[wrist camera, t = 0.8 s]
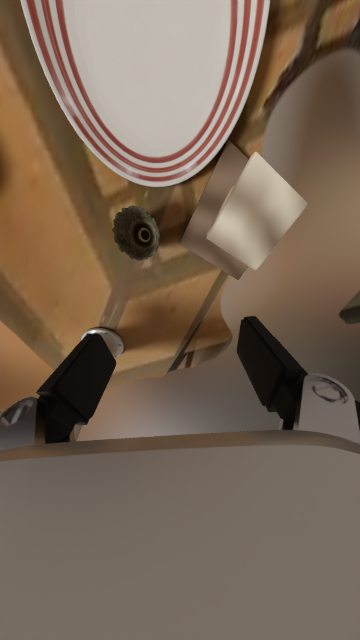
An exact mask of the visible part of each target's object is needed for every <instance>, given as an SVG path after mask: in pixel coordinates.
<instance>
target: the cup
mask: <svg viewBox="0 0 360 640" xmlns="http://www.w3.org/2000/svg"><path fill="white" fill-rule="evenodd" d="M115 217H116V218H115V219H114V220H113V221H114V226H115V227H114V228H113V229H112V231H113V232H114V241H115V243H116V244H117V246H118V247H119V249H120V251H121V252H125V253H126V254H127V255H129V256H130V258H131V259H135V260H137V261H140V260H142V259H144V260H146V259H148V258H149V257H151V256H152V255H153V254H154V253H155V252H156V250H157V248H158V245H159V238H160V234H159V229H158V226H157V224H156V221H155V220H154V219H153V218H152V217H151V215H150V214H148V213H147V212H146V210H144V209H142V208H139V207H137V206H129V207H128V208H122V212H119V213H117V214H116V216H115ZM144 230H145V231H147V232H148V233H149V238H148V239H147V240H145V239H143V238H142V236H141V233H142V231H144Z"/></svg>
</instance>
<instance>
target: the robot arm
mask: <svg viewBox="0 0 360 640" xmlns="http://www.w3.org/2000/svg"><path fill="white" fill-rule="evenodd" d="M123 350H124V343H123V341H122V339H121V338H120V337H119V336H118V335H117V334H116V333H114V332H112V331H110V330H108V329H104V328H92V329H89V330H87V331H86V332H85V333H84V334H83V335H82V337H81V341H80V343H79V344H78V345H77V346H76V347H75V348H74V349H73V351H72V352H71V353H70V354H69V355H68V356H67V357H66V359H65V360H64V361H63V362H62V363H61V364H60V365H59V367H58V368H57V369H56V370H55V371H54V372H53V374H52V375H51V376H50V377H49V378H48V379H47V380H46V381H45V383H44V384H43V385H42V386H41V387H40V388H39V390H38V391H37V392H36V393H37V394H39V395H40V397H39V398H38V399H37V398H35V397H27V398H24V399H22V400H20V401H18V402H16V403H15V404H13V405H12V406H10V407H9V408H8V409H7V410H6V411H5V410H0V640H360V402H358V401H356V400H354V398H353V395H352V394H351V393H350V391H349V390H348V389H347V388H346V387H345V386H344V385H342V384H341V383H340V382H338V381H337V380H335V379H333V378H331V377H328V376H325V375H322V374H316V373H313V374H307V372H306V371H305V370H304V369H303V368H302V367H301V366H300V365H299V363H298V362H297V361H296V360H295V359H294V358H293V357H292V356H291V355H290V353H289V352H288V351H287V350H286V349H285V348H284V347H283V346H282V345H281V344H280V342H279V341H278V340H277V339H276V338H275V337H274V336H273V335H272V334H271V333H270V332H269V331H268V330H267V329H266V328H265V326H264V325H263V324H262V323H261V322H260V321H259V320H258V319H257V318H256V317H255V316H250V317H245V318H244V319H243V320H241V325H240V333H239V339H238V346H237V354H238V356H239V358H240V360H241V362H242V364H243V366H244V369H245V370H246V373H247V375H248V377H249V379H250V381H251V383H252V385H253V387H254V389H255V391H256V394H257V395H258V398H259V400H260V402H261V404H262V405H263V406H266V408H267V410H268V411H269V412H277V413H278V415H279V416H280V418H281V423H280V428H279V430H266V431H240V432H222V433H205V434H187V435H171V436H154V437H140V438H139V437H138V438H124V439H107V440H93V441H77V439H78V436H79V433H80V430H81V428H82V425H87V423H88V421H89V419H90V418H91V417H92V416H93V414H94V412H95V410H96V408H97V405H98V404H99V401H100V399H101V397H102V395H103V392H104V390H105V388H106V386H107V384H108V382H109V380H110V377H111V375H112V373H113V371H114V369H115V366H116V360H115V358H117V357H119V356H120V355H121V354H122V352H123Z"/></svg>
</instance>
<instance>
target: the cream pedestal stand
mask: <svg viewBox="0 0 360 640" xmlns="http://www.w3.org/2000/svg"><path fill="white" fill-rule="evenodd" d="M307 205H308V203H307V202H306V201H305V200H304V199H303V198H302V197H301V196H300V195H299V194H298V193H297V192H296V191H295V190H294V189H293V188H292V187H291V186H290V185H289V184H288V183H287V182H286V181H285V180H284V179H283V178H282V177H281V176H280V175H279V174H278V173H277V172H276V171H275V170H274V169H273V168H272V167H271V166H270V165H269V164H268V163H267V162H266V161H265V160H264V159H263V158H262V157H261V156H260V155H259V154H258V153H257V152H255V153H254V154H253V155H252V156H251V157H250V159H248V158H247V157H246V156H245V155H244V154H243V153H242V152H241V151H240V150H239V149H238V148H237V147H235V146H234V145H233V144H232V143H231V142H230V141H229V140H228V141H227V143H226V145H225V147H224V149H223V151H222V153H221V155H220V157H219V159H218V162H217V164H216V166H215V168H214V170H213V172H212V174H211V177H210V179H209V181H208V183H207V185H206V187H205V189H204V191H203V194H202V196H201V198H200V200H199V202H198V204H197V206H196V209H195V211H194V213H193V215H192V217H191V219H190V221H189V224H188V226H187V228H186V230H185V232H184V234H183V236H182V239H181V241H180V243H179V244H180V245H182V246H183V247H185V248H187V249H188V250H190V251H192V252H193V253H195V254H197V255H198V256H200V257H201V258H203V259H205V260H206V261H208V262H210V263H211V264H213V265H215V266H216V267H218V268H219V269H221V270H223V271H224V272H226V273H228V274H229V275H231V276H233V277H234V278H236V279H237V280H239V278H240V277H241V276H242V274H243V273H244V272H245V270H246V269H247V268H248V266H249V267H251V268H252V269H254V270H257V269H258V267H259V266H260V265H261V263H262V262H263V261H264V260H265V258H266V257H267V256H268V255H269V253H270V252H271V251H272V250H273V248H274V247H275V246H276V244H277V243H278V242H279V241H280V239H281V238H282V237H283V236H284V234H285V233H286V232H287V231H288V229H289V228H290V227H291V225H292V224H293V223H294V221H295V220H296V219H297V218H298V217H299V215H300V214H301V213H302V212H303V210H304V209H305V208H306V207H307Z"/></svg>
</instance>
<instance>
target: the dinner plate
mask: <svg viewBox="0 0 360 640" xmlns="http://www.w3.org/2000/svg"><path fill="white" fill-rule="evenodd" d="M21 4H22V8H23V11H24V15H25V18H26V22H27V25H28V28H29V31H30V35H31V38H32V41H33V44H34V47H35V49H36V52H37V55H38V58H39V60H40V63H41V65H42V68H43V70H44V73H45V75H46V77H47V80H48V82H49V84H50V86H51V88H52V90H53V92H54V94H55V96H56V98H57V100H58V102H59V104H60V106H61V108H62V110H63V111H64V113H65V115H66V117H67V118H68V120H69V121H70V123H71V125H72V126H73V128H74V129H75V131H76V132H77V133H78V135H79V136H80V138H81V139H82V140H83V142H84V143H85V144H86V145H87V147H88V148H89V149H90V150H91V151H92V152H93V153H94V154H95V155H96V156H97V157H98V158H99V159H100V160H101V161H102V162H103V163H104V164H105V165H106V166H108V167H109V168H110V169H111V170H113V171H114V172H116V173H117V174H119V175H120V176H122V177H124V178H126V179H128V180H130V181H132V182H134V183H137V184H141V185H145V186H151V187H165V186H171V185H175V184H178V183H181V182H183V181H185V180H187V179H189V178H190V177H192V176H194V175H195V174H197V173H198V172H199V171H200V170H202V169H203V168H204V167H205V166H206V165H207V164H208V163H209V162H210V161H211V160H212V159H213V158H214V157H215V156H216V154H217V153H218V152H219V150H220V149H221V148H222V146H223V145H224V143H225V142H226V140H227V139H228V137H229V135H230V134H231V132H232V130H233V128H234V127H235V125H236V123H237V121H238V119H239V117H240V114H241V112H242V110H243V108H244V105H245V103H246V100H247V98H248V95H249V92H250V89H251V87H252V84H253V81H254V77H255V74H256V71H257V67H258V64H259V60H260V56H261V51H262V47H263V42H264V38H265V33H266V27H267V21H268V14H269V7H270V0H21Z"/></svg>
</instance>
